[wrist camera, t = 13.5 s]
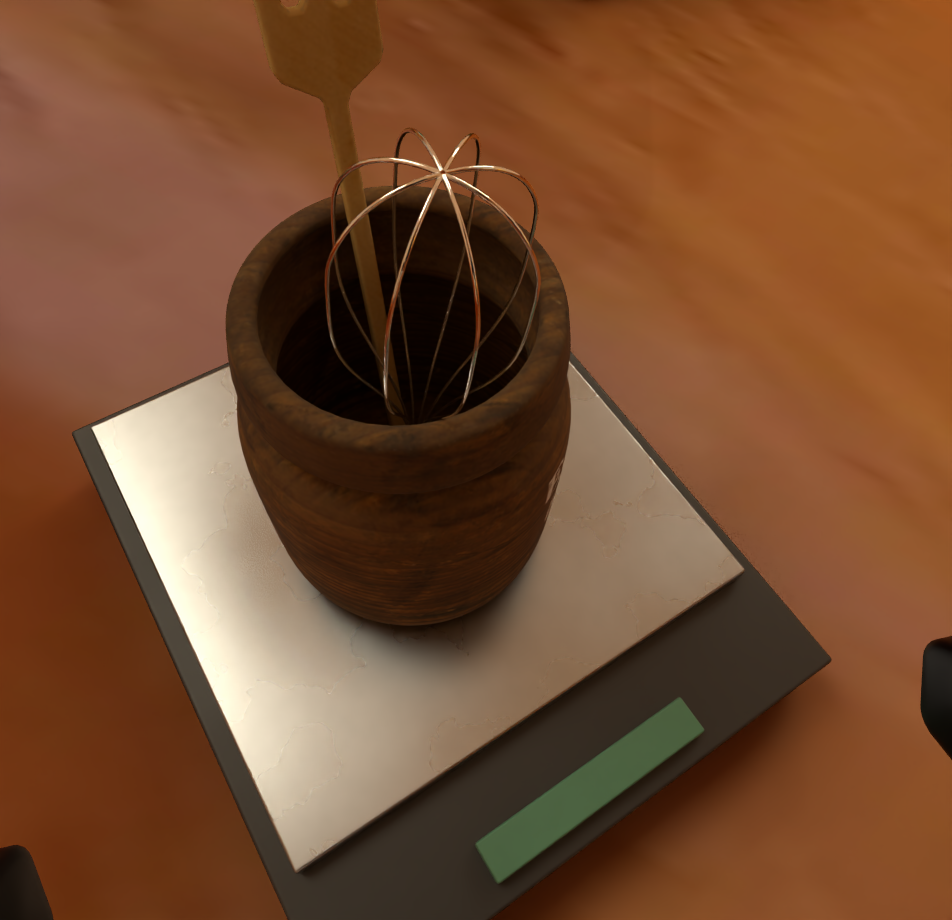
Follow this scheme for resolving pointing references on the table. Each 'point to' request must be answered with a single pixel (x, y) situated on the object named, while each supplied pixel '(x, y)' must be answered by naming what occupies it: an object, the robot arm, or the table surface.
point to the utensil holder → (396, 362)
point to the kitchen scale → (444, 666)
